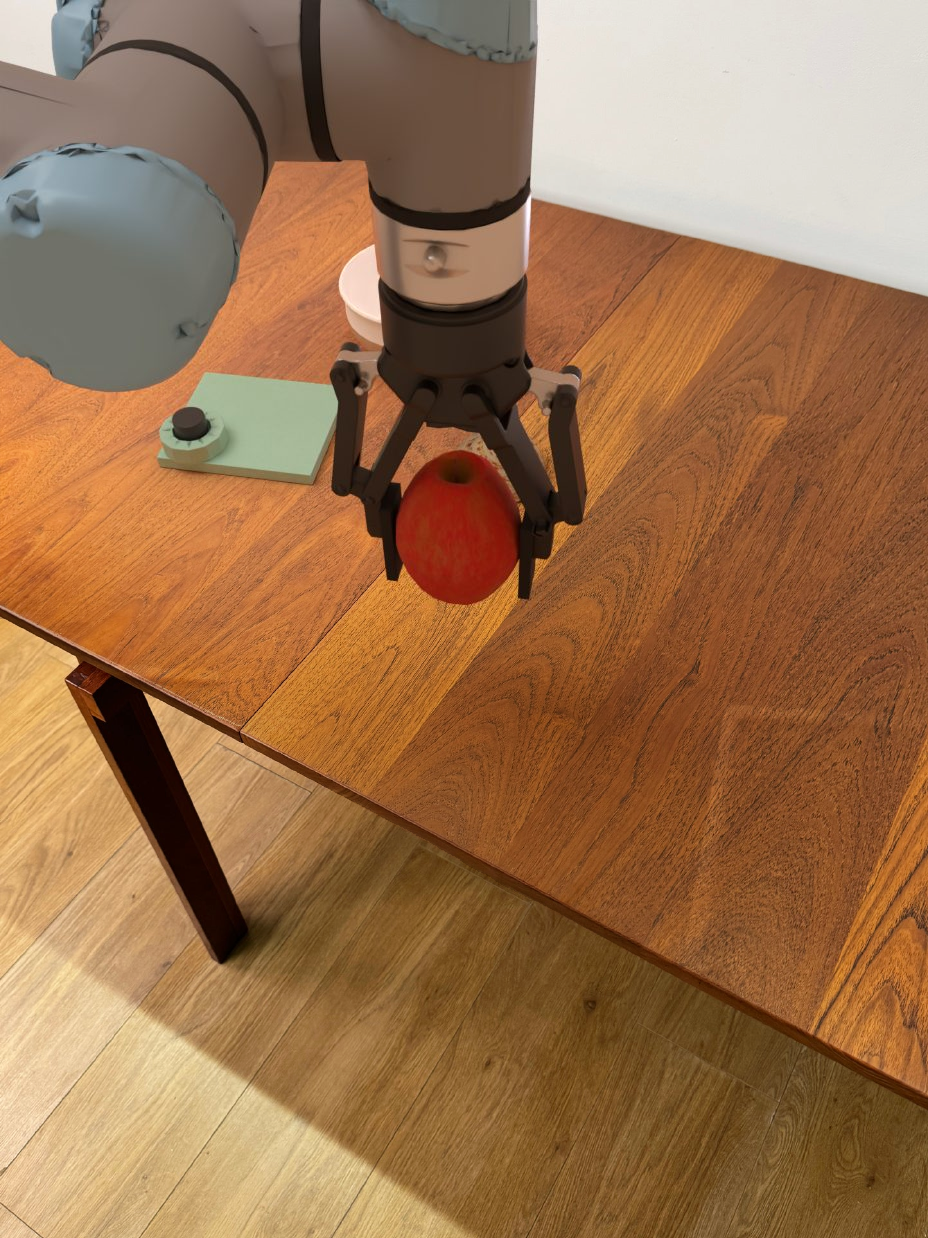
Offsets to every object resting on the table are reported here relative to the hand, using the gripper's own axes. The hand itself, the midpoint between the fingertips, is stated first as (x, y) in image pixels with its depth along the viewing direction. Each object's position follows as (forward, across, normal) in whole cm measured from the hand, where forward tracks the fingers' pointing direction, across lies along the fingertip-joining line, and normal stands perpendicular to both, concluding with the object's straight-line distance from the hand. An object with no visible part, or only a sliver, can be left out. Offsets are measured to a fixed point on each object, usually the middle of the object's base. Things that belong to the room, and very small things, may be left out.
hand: (461, 574), depth 67 cm
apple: (0, 0, 0) cm, 0 cm away
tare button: (+11, -30, +22) cm, 39 cm away
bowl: (+13, -13, +42) cm, 46 cm away
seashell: (+13, -2, +24) cm, 27 cm away
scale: (+13, -26, +26) cm, 39 cm away
